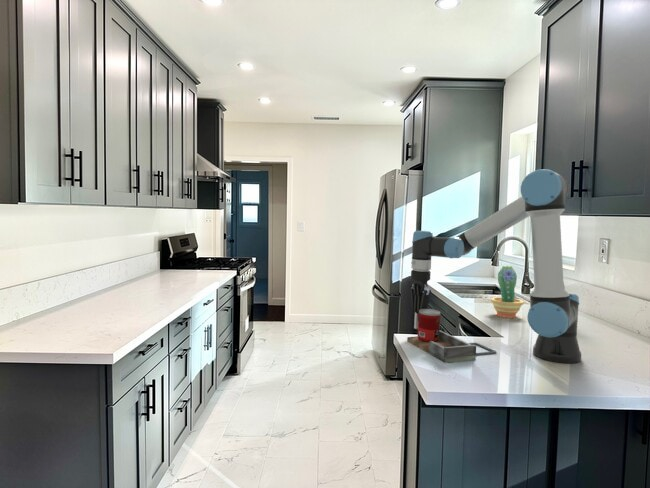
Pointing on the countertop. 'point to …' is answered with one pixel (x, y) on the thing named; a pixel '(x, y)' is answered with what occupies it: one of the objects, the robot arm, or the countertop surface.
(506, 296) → the potted cactus
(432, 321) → the canned food
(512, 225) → the robot arm
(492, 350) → the frame
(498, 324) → the countertop surface
